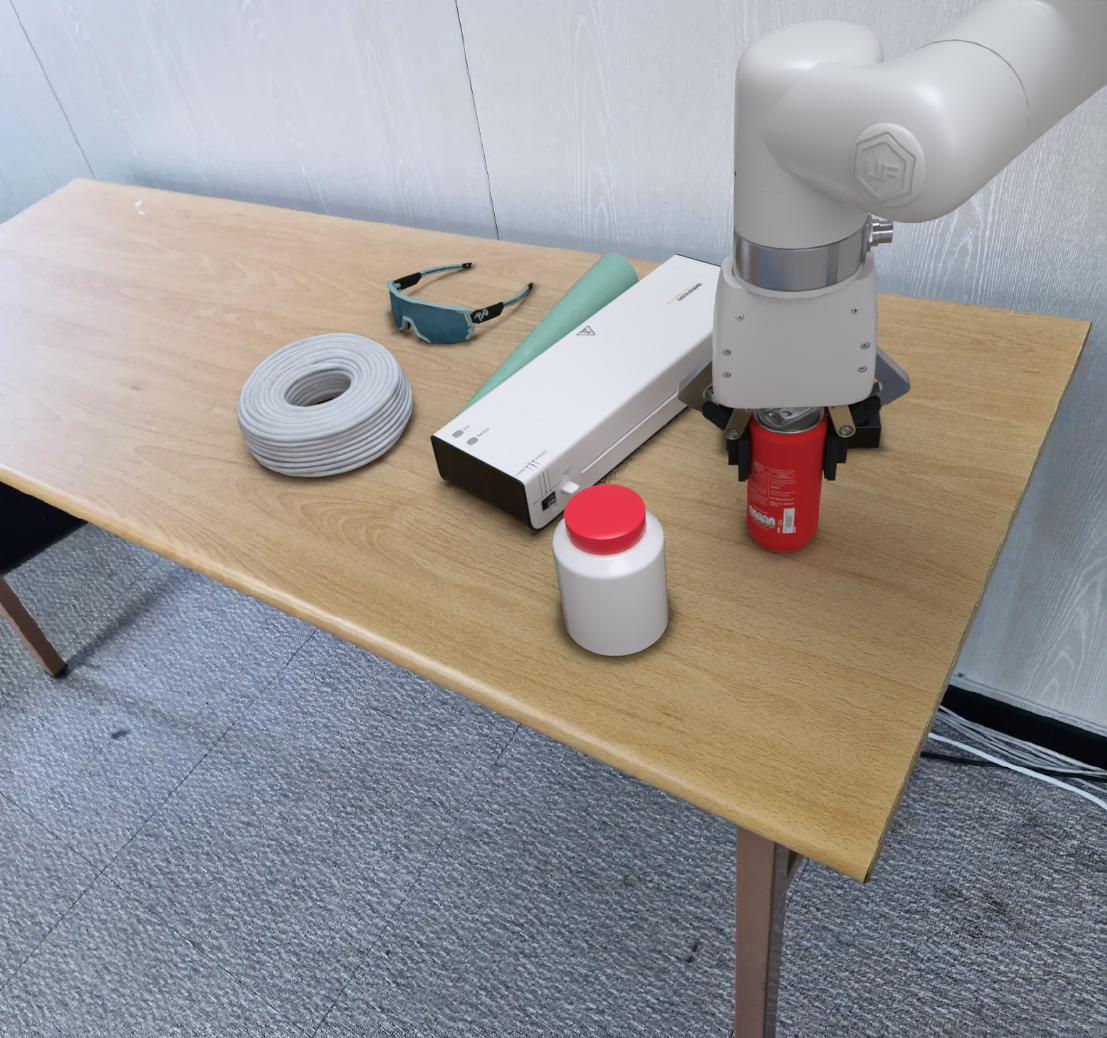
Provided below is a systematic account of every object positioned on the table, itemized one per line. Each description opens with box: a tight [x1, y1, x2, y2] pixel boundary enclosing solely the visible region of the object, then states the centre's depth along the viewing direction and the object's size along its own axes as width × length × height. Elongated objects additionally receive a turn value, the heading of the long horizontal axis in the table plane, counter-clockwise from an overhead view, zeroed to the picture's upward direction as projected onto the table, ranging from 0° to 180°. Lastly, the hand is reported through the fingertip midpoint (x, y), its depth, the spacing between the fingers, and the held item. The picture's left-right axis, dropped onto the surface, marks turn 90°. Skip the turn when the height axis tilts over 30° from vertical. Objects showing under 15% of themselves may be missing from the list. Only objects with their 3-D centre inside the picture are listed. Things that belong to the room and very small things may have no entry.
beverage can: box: [745, 406, 827, 554], centre depth 72 cm, size 5×5×12 cm
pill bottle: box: [551, 483, 670, 657], centre depth 70 cm, size 8×8×11 cm
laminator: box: [429, 253, 721, 532], centre depth 89 cm, size 34×12×6 cm, turn 132°
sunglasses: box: [386, 261, 534, 344], centre depth 110 cm, size 14×15×5 cm
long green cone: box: [453, 252, 640, 419], centre depth 97 cm, size 5×6×27 cm
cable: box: [236, 332, 414, 478], centre depth 97 cm, size 18×18×6 cm
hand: (785, 466), depth 72 cm, fingers closed on beverage can, 5 cm apart
